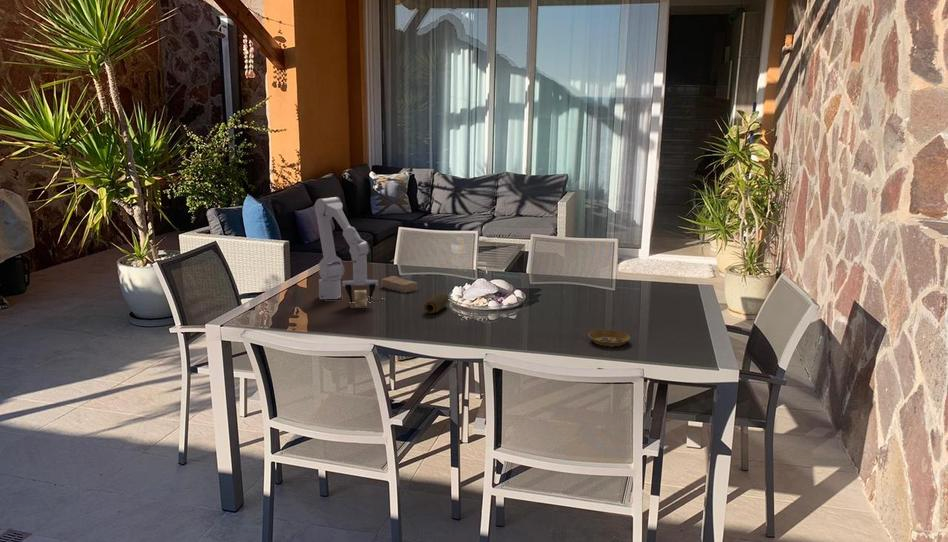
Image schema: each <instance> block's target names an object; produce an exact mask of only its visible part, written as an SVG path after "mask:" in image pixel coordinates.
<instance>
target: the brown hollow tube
mask: <svg viewBox="0 0 948 542" xmlns="http://www.w3.org/2000/svg"><path fill="white" fill-rule="evenodd" d="M449 299H450V298H449V296H448V294H447V293H446V292H443V291H439V292H437V293H435V294H434V295H433V296H431V297H430V298H429V299H428V300H427V301H426V302H424V304H423V311H424V312H426V313H427V314H437V313H438V312H439V311H441V310H442V309H444V308H445V307H446V306H447V304H448V303H449Z"/></svg>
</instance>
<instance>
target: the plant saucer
mask: <svg viewBox="0 0 948 542" xmlns="http://www.w3.org/2000/svg"><path fill="white" fill-rule="evenodd" d="M588 337H589V339H591V341H593V343H595V344H597V345H598V344H599V346H601V345H603V347H607V346H609V347H610V348H611V347H612V348H614V346H617V347H621V345H622V346H624V345H625V344H626V343H628V341H629V340H630V339H631V337H630V334H628V333H625V332H624V331H623V332H622V331H619V330H613V329H596V330H592V331H590V332H589V333H588ZM605 337H606V338H608V340H610V339H612V338H613V339H612V340H611V342H605V341H600V340H602V339H603V338H605ZM616 338H619V339H621V340H623V341H622V342H615V341H617V340H616ZM612 341H614V342H612ZM623 344H624V345H623ZM609 347H608V348H609Z"/></svg>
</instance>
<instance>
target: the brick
mask: <svg viewBox="0 0 948 542" xmlns="http://www.w3.org/2000/svg"><path fill="white" fill-rule="evenodd" d="M380 282H381V288H383V287H386V288H389V289H392V290H391V291H393V290H397V291H400V292H399V293H404V294H407V293H406V292H410V291H414V290H417V291H418V288H419V287H418V282H417V281H413V280H409V279H408V280H406V279H404V278H401V277H399V276H396V275H392V276H391V275H390V276H388V277H384V278H381V280H380ZM389 289H388V290H389ZM397 291H396V292H397ZM414 292H415V291H414ZM410 293H411V292H410Z"/></svg>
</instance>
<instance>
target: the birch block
mask: <svg viewBox="0 0 948 542" xmlns="http://www.w3.org/2000/svg"><path fill="white" fill-rule="evenodd" d="M367 294H368V292H367V289H356V290H355V289H354V303H355V307H361V306H367V302H368V298H367V297H368V295H367Z"/></svg>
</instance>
